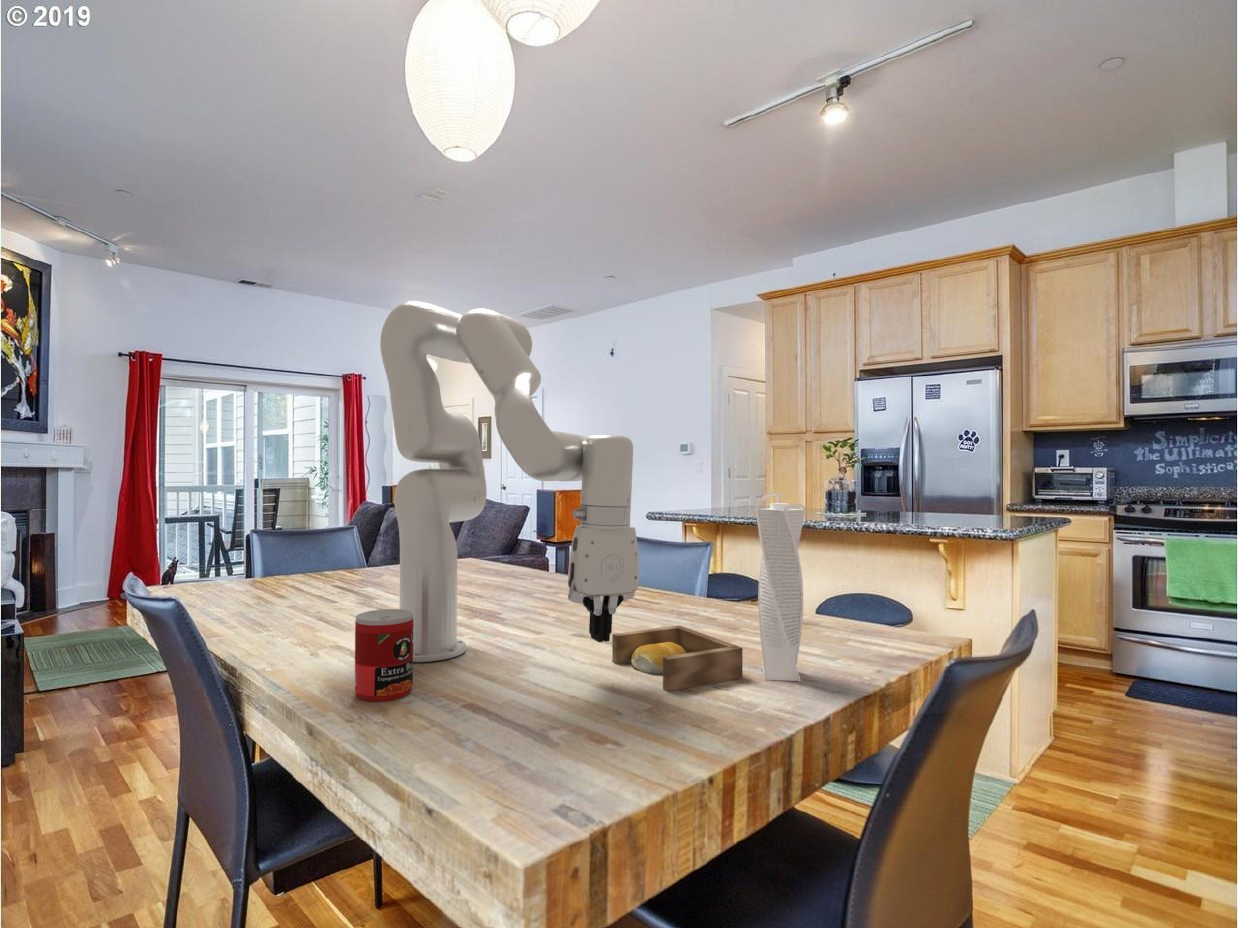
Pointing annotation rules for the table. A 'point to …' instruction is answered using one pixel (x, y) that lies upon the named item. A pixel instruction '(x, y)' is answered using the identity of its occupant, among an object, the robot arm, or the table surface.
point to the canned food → (383, 654)
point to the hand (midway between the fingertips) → (599, 639)
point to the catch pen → (684, 656)
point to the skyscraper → (780, 588)
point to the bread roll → (654, 656)
